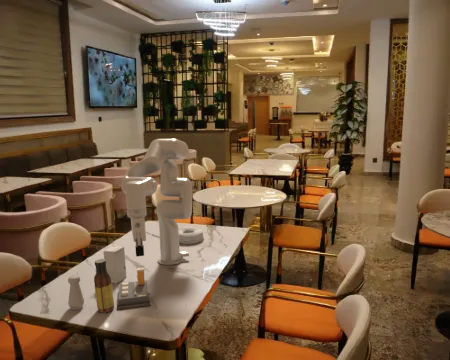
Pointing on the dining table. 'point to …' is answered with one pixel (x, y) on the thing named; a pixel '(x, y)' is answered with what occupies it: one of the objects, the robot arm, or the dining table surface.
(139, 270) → the lever
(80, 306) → the salt shaker
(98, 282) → the sauce bottle
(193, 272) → the dining table surface
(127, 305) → the dark brown grooved strip
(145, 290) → the breaker panel
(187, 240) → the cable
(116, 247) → the skincare box
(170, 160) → the robot arm
